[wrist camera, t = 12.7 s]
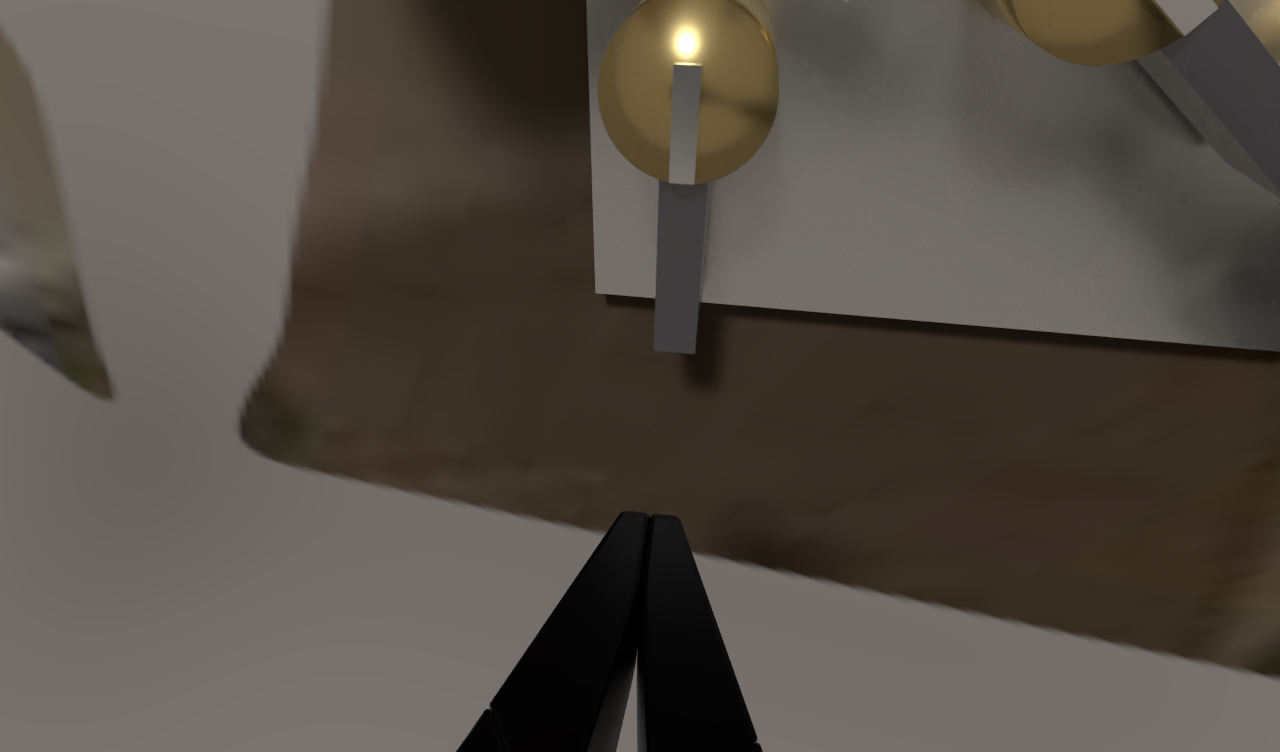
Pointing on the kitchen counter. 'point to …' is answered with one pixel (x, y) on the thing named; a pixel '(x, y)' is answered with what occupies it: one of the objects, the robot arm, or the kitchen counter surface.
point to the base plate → (963, 186)
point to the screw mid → (1174, 64)
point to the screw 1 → (688, 127)
